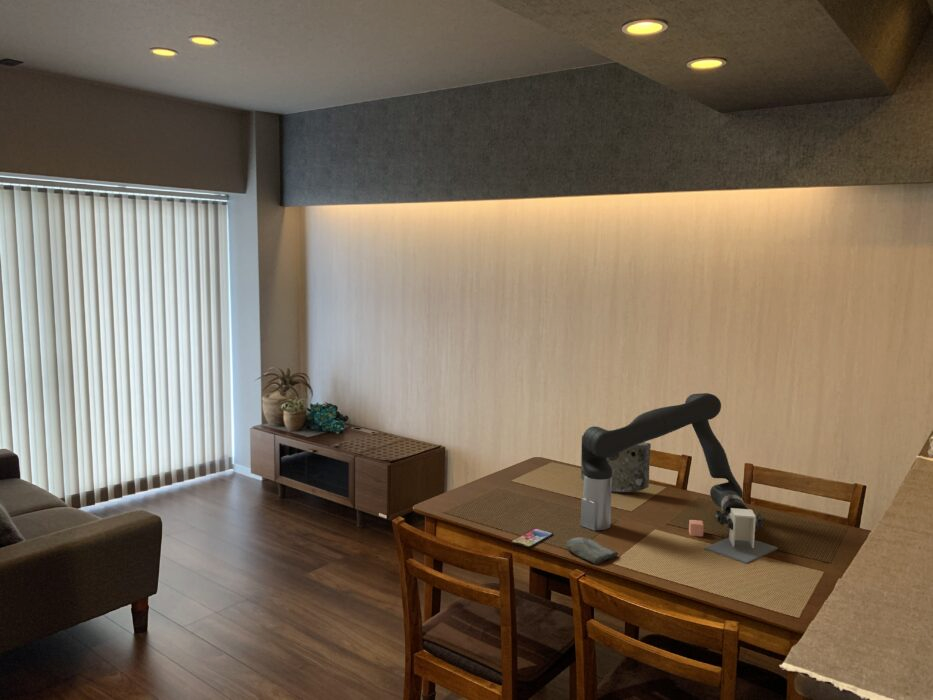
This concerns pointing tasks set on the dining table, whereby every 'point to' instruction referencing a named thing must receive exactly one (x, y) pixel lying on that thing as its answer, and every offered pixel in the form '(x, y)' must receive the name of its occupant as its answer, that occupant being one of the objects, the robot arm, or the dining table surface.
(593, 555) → the stone
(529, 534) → the smartphone
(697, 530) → the cube
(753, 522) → the white open box
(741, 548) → the mat
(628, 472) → the concrete block
